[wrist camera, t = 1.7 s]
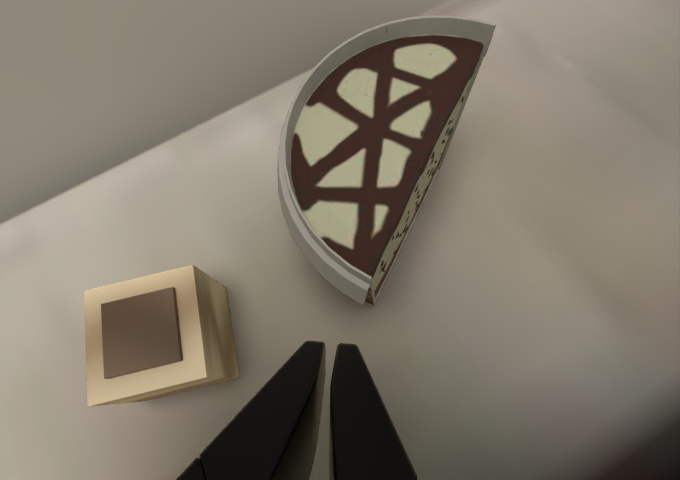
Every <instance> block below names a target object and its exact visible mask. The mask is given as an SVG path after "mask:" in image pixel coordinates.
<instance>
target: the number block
mask: <svg viewBox="0 0 680 480" xmlns="http://www.w3.org/2000/svg"><path fill="white" fill-rule="evenodd" d="M84 302H85V333H86V365H87V397H88V407H89V406H99V405H109V404H119V403H129V402H140V401H148V400H152V399H156V398H160V397H164V396H168V395H172V394H176V393H180V392H184V391H188V390H192V389H196V388H200V387H204V386H208V385H212V384H216V383H220V382H224V381H228V380H232V379H236V378H239V371H238V365H237V358H236V351H235V344H234V338H233V331H232V324H231V317H230V311H229V304H228V297H227V290H226V287H225V286H223V285H222V284H220V283H219V282H217V281H216V280H214V279H213V278H211V277H210V276H209V275H207V274H206V273H204V272H203V271H201V270H200V269H198V268H197V267H195V266H194V265H190V266H186V267H181V268H177V269H173V270H169V271H165V272H160V273H156V274H152V275H148V276H144V277H139V278H135V279H131V280H127V281H123V282H118V283H114V284H110V285H106V286H102V287H98V288H93V289H89V290H85V291H84Z"/></svg>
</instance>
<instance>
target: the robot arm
mask: <svg viewBox="0 0 680 480" xmlns="http://www.w3.org/2000/svg"><path fill="white" fill-rule="evenodd" d="M324 383H325V344H324V343H323V342H317V341H306V342H305V343H304V344H303V345H302V346H301V347H300V348H299V349H298V350H297V351H296V352H295V353H294V354H293V355H292V356H291V357H290V359H289V360H288V361H287V362H286V363H285V364H284V365H283V366H282V367H281V368H280V369H279V370H278V371H277V372H276V374H275V375H274V376H273V377H272V378H271V379H270V380H269V381H268V382H267V383H266V384H265V385H264V386H263V387H262V389H261V390H260V391H259V392H258V393H257V394H256V395H255V396H254V397H253V398H252V399H251V400H250V401H249V402H248V404H247V405H246V406H245V407H244V408H243V409H242V410H241V411H240V412H239V413H238V414H237V415H236V416H235V417H234V419H233V420H232V421H231V422H230V423H229V424H228V425H227V426H226V427H225V428H224V429H223V430H222V431H221V432H220V434H219V435H218V436H217V437H216V438H215V439H214V440H213V441H212V442H211V443H210V444H209V445H208V446H207V447H206V449H205V450H204V451H203V452H202V453H201V454H200V458H196V459H195V460H194V461H193V462H192V463H191V464H190V465H189V467H188V468H187V469H186V470H185V471H184V472H183V473H182V474H181V475H180V476H179V477H178V478H177V479H176V480H309V478H310V474H311V470H312V466H313V462H314V457H315V452H316V446H317V440H318V432H319V424H320V415H321V407H322V399H323V391H324ZM329 476H330V480H417V475H416V473H415V470H414V468H413V466H412V464H411V462H410V459H409V457H408V455H407V453H406V451H405V449H404V446H403V444H402V442H401V440H400V438H399V435H398V433H397V431H396V429H395V427H394V425H393V422H392V420H391V418H390V416H389V414H388V411H387V409H386V407H385V405H384V403H383V401H382V398H381V396H380V394H379V392H378V390H377V387H376V385H375V383H374V381H373V379H372V376H371V374H370V372H369V370H368V368H367V366H366V363H365V361H364V359H363V357H362V355H361V352H360V350H359V348H358V346H357V345H355V344H343V343H340V344H338V346H337V350H336V356H335V361H334V367H333V373H332V379H331V387H330V451H329Z"/></svg>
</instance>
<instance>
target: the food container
mask: <svg viewBox="0 0 680 480" xmlns="http://www.w3.org/2000/svg"><path fill="white" fill-rule="evenodd" d="M495 27H496V24H492V23H488V22H485V21H481V20H477V19H471V18H464V17H457V16H421V17H411V18H405V19H400V20H396V21H392V22H388V23H384V24H382V25H379V26H376V27H373V28H371V29H368V30H365V31H363V32H362V33H360V34H358V35H356V36H354V37H352V38H350V39H349V40H346V41H345V42H344V43H342V44H341V45H339V46H338V47H337V48H336V49H334V50H333V51H331V52H330V53H329V54H328V55H327V56H326V57H325V58H323V60H321V61H320V62H319V64H317V65H316V66H315V67H314V69H313V70H312V71H311V73H310V74H309V75H308V77H307V78H306V79H305V81H304V82H303V83H302V85H301V87H300V88H299V90H298V92H297V94H296V96H295V98H294V100H293V102H292V104H291V106H290V108H289V110H288V112H287V115H286V118H285V122H284V125H283V128H282V131H281V137H280V144H279V151H278V193H279V198H280V202H281V207H282V211H283V215H284V218H285V220H286V223H287V225H288V228H289V230H290V233H291V235H292V237H293V239H294V240H295V242H296V244H297V245H298V247H299V248H300V250H301V252H302V253H303V255H304V256H305V258H306V259H307V260H308V261H309V262H310V263H311V265H312V266H313V267H314V268H315V269H316V270H317V271H318V272H319V274H320V275H321V276H322V277H323V278H325V279H326V280H327V281H328V282H329V283H331V284H332V285H333V286H334V287H336V288H337V289H338V290H339V291H340V292H342V293H343V294H345V295H346V296H348V297H350V298H352V299H353V300H355V301H357V302H358V303H360V304H362V305H364V303H365V301H367V302H369V303H370V304H372V305H375V303H376V301H377V299H378V297H379V294H380V292H381V290H382V288H383V286H384V284H385V282H386V280H387V278H388V276H389V274H390V272H391V269H392V267H393V265H394V263H395V261H396V259H397V257H398V255H399V253H400V251H401V249H402V247H403V245H404V242H405V240H406V238H407V236H408V234H409V232H410V230H411V228H412V226H413V224H414V222H415V220H416V217H417V215H418V213H419V211H420V209H421V207H422V205H423V203H424V201H425V199H426V197H427V195H428V193H429V190H430V188H431V186H432V184H433V182H434V180H435V178H436V176H437V174H438V172H439V170H440V167H441V165H442V162H443V160H444V157H445V154H446V152H447V149H448V147H449V144H450V142H451V139H452V137H453V134H454V131H455V129H456V126H457V124H458V121H459V119H460V116H461V114H462V111H463V109H464V106H465V103H466V101H467V98H468V96H469V93H470V91H471V88H472V86H473V83H474V80H475V78H476V75H477V73H478V70H479V68H480V65H481V63H482V60H483V57H485V55H486V53H487V50H488V47H489V44H490V41H491V39H492V36H493V32H494V29H495Z"/></svg>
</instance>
